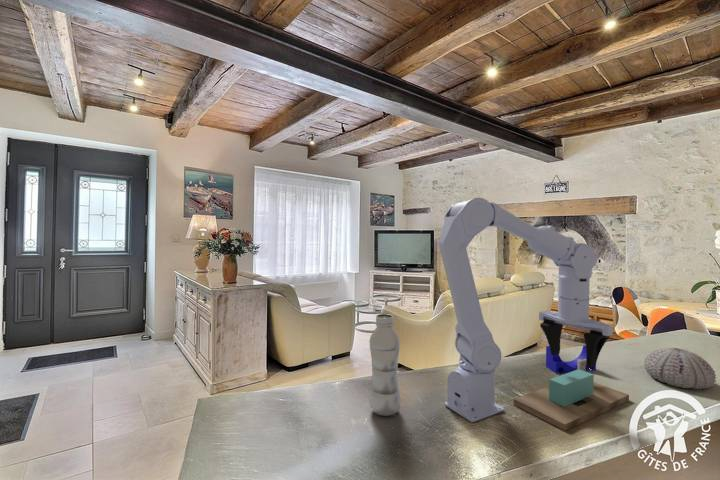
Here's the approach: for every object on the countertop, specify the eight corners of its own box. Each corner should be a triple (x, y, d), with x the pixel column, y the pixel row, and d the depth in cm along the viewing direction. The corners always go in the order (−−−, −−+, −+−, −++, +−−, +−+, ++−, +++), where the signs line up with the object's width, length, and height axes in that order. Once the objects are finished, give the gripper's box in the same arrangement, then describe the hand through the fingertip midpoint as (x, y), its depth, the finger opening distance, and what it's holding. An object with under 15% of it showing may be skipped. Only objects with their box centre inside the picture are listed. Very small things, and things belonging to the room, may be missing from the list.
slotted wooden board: (564, 430, 64) (565, 398, 64) (513, 404, 74) (513, 376, 73) (630, 399, 76) (630, 372, 75) (578, 380, 85) (579, 356, 85)
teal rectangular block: (564, 406, 70) (564, 385, 70) (549, 400, 73) (549, 379, 73) (593, 394, 76) (593, 374, 75) (578, 388, 78) (578, 369, 78)
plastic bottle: (375, 422, 67) (375, 321, 66) (365, 405, 73) (365, 313, 73) (405, 417, 68) (405, 319, 68) (393, 401, 75) (393, 311, 74)
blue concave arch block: (556, 374, 90) (556, 351, 90) (545, 367, 94) (546, 345, 94) (600, 373, 90) (600, 350, 90) (587, 366, 95) (588, 345, 95)
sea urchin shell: (732, 391, 80) (733, 357, 80) (685, 396, 78) (685, 361, 77) (671, 368, 93) (672, 339, 93) (629, 372, 91) (630, 342, 90)
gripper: (621, 302, 69) (620, 367, 70) (552, 291, 82) (551, 346, 83) (602, 305, 66) (601, 374, 66) (533, 293, 79) (532, 351, 79)
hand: (572, 359), depth 74 cm, fingers open, 7 cm apart
